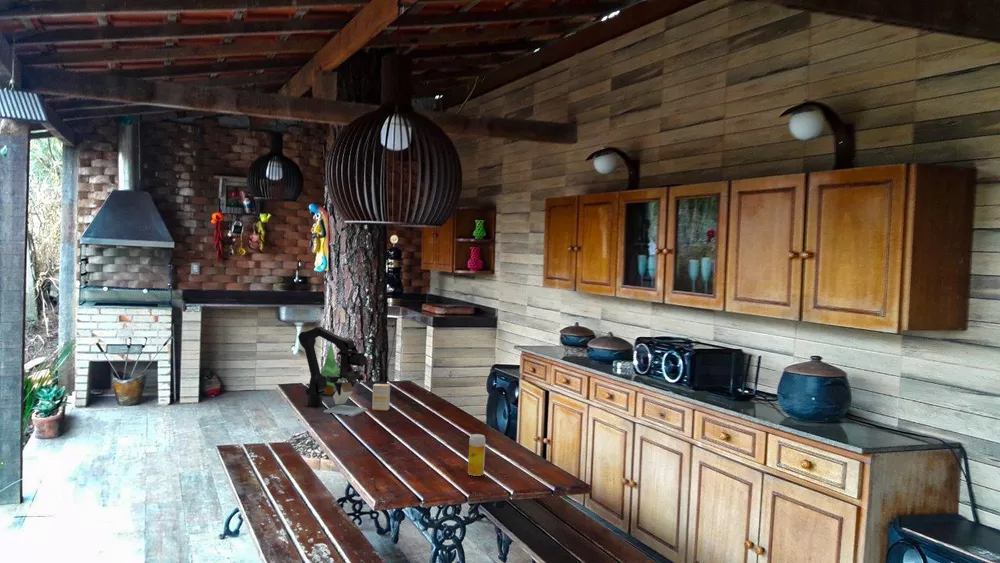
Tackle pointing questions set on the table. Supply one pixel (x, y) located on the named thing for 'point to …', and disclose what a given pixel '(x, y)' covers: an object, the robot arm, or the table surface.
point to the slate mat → (345, 410)
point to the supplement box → (381, 397)
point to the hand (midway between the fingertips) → (344, 394)
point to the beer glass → (476, 455)
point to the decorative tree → (330, 370)
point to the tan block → (343, 393)
